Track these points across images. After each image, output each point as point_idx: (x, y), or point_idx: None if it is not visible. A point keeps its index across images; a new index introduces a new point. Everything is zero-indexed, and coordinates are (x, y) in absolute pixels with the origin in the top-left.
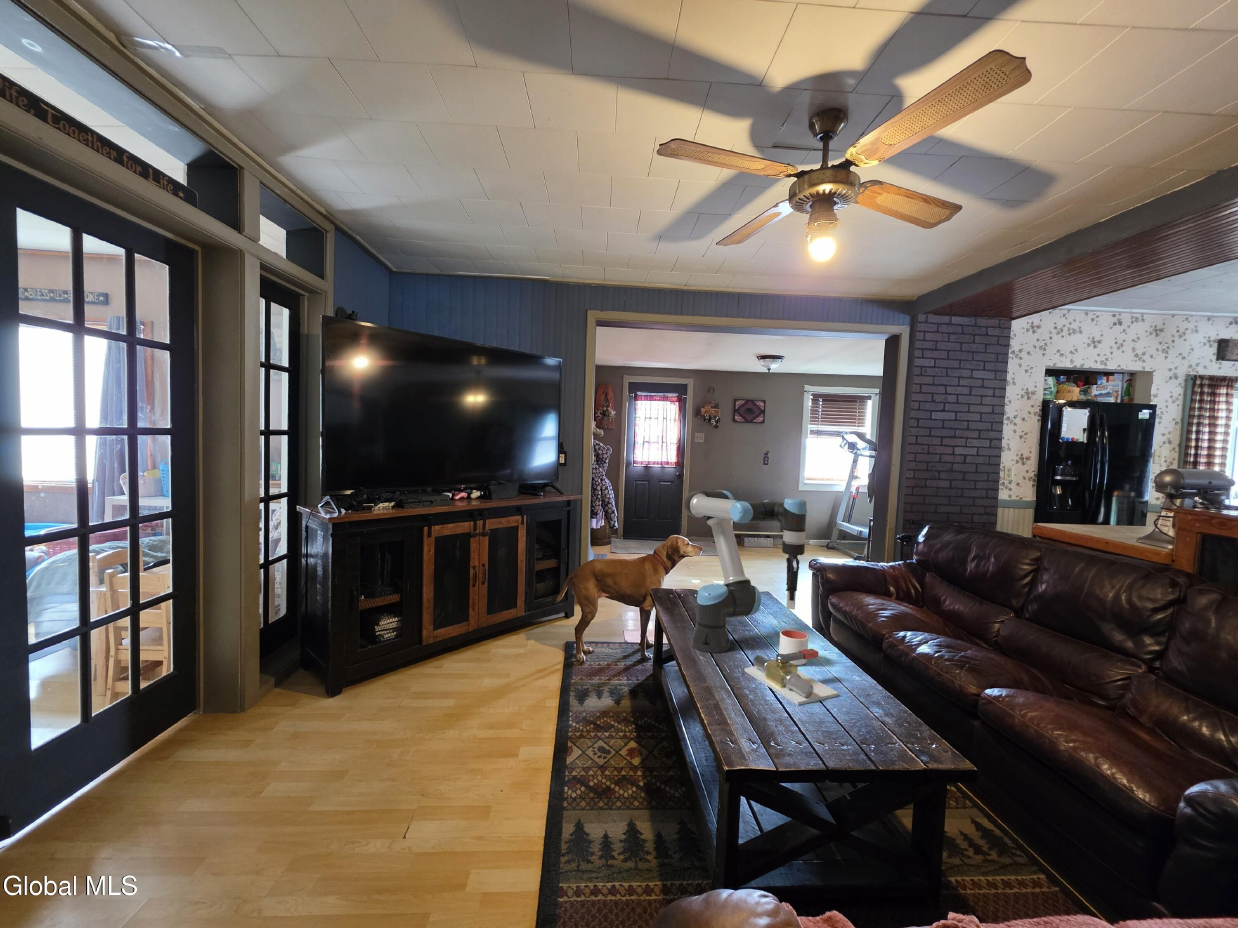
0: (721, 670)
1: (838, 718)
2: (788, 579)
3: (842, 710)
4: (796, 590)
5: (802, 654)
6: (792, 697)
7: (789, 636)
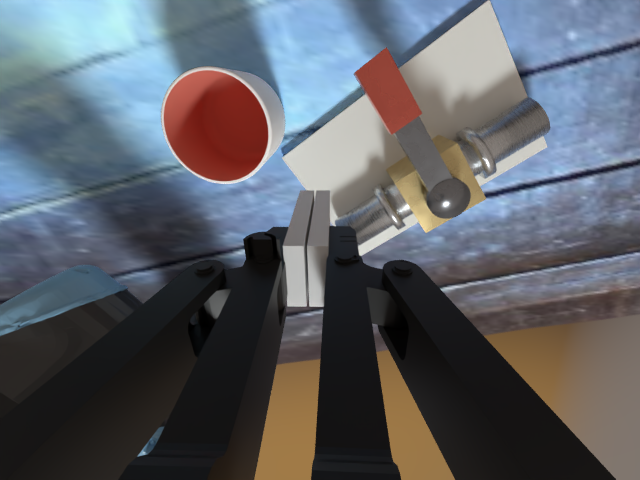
0: None
1: (628, 36)
2: (271, 378)
3: (582, 10)
4: (418, 266)
5: (421, 124)
6: (519, 157)
7: (181, 137)
